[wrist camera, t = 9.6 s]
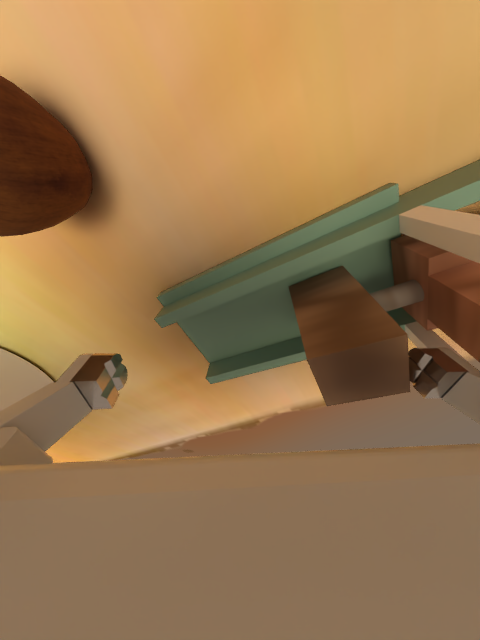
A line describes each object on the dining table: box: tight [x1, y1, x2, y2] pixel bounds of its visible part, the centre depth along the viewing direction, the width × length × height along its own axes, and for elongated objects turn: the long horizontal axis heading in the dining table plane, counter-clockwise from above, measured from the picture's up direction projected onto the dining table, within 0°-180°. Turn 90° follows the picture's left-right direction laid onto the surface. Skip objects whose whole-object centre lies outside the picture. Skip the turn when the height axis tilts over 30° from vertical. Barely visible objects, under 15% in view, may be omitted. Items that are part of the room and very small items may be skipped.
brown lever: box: [288, 235, 480, 406], centre depth 11 cm, size 9×5×10 cm, turn 116°
